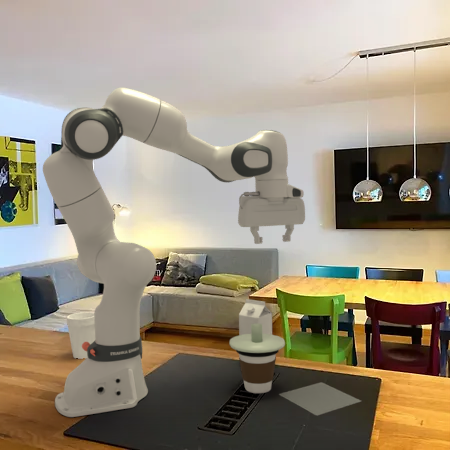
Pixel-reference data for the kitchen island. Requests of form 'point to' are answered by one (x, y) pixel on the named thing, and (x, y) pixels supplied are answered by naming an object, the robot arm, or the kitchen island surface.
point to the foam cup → (81, 332)
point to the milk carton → (255, 317)
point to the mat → (319, 398)
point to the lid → (257, 341)
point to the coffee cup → (257, 370)
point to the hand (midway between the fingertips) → (272, 242)
